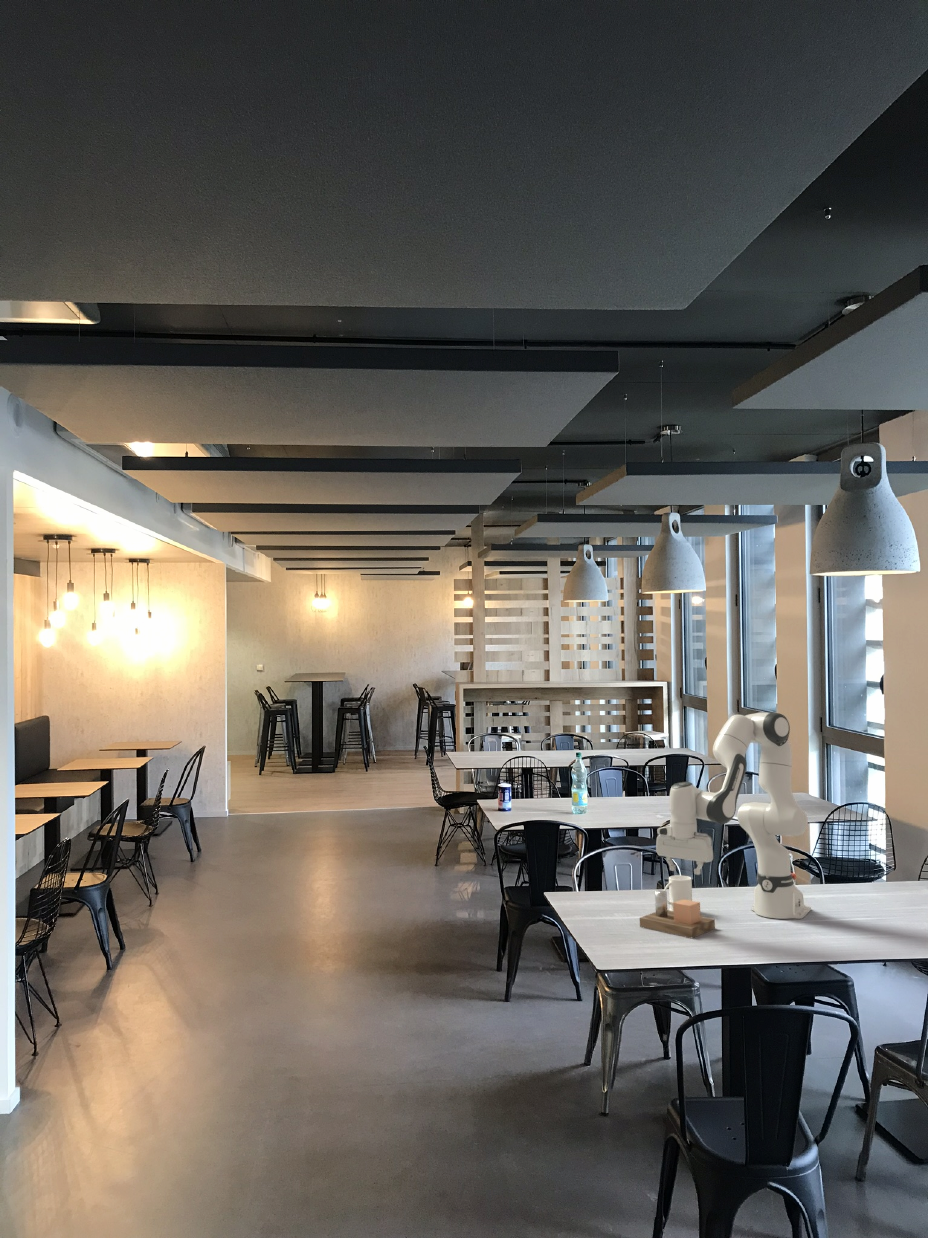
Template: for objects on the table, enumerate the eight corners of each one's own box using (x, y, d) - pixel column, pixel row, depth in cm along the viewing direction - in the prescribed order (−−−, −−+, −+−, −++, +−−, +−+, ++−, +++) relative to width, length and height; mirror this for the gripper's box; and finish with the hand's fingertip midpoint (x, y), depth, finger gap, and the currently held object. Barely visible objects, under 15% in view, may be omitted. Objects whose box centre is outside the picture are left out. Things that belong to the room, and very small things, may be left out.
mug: (670, 916, 305) (668, 882, 306) (657, 910, 313) (655, 877, 314) (698, 913, 308) (696, 879, 309) (684, 907, 316) (683, 874, 317)
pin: (659, 913, 297) (659, 890, 298) (669, 915, 295) (669, 891, 295) (653, 915, 295) (652, 892, 295) (663, 917, 292) (662, 893, 292)
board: (664, 918, 302) (663, 909, 303) (715, 928, 288) (714, 919, 288) (639, 926, 292) (639, 917, 292) (691, 938, 278) (691, 928, 278)
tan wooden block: (684, 917, 292) (683, 899, 293) (700, 920, 287) (699, 902, 288) (673, 921, 288) (673, 902, 288) (690, 924, 283) (689, 906, 284)
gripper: (716, 833, 285) (717, 875, 284) (663, 826, 299) (664, 867, 298) (706, 835, 280) (707, 878, 279) (653, 829, 295) (654, 869, 294)
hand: (684, 872), depth 289 cm, fingers open, 8 cm apart
